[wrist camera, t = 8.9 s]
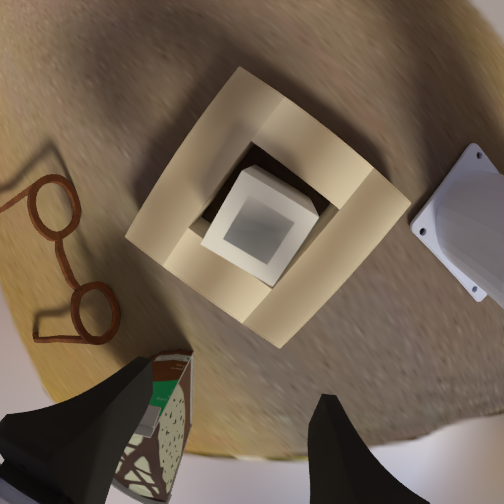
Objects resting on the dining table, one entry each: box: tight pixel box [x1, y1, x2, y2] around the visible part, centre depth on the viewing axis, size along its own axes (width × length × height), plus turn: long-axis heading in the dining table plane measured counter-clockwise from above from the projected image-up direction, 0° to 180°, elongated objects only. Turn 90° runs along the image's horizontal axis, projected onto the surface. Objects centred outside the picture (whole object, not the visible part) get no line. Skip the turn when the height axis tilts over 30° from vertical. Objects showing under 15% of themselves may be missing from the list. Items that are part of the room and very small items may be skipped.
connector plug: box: [201, 165, 319, 287], centre depth 17 cm, size 4×4×6 cm
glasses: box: [0, 174, 120, 345], centre depth 22 cm, size 13×13×5 cm
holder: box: [125, 66, 411, 349], centre depth 19 cm, size 12×12×3 cm
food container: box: [111, 349, 194, 504], centre depth 21 cm, size 12×6×10 cm, turn 173°
